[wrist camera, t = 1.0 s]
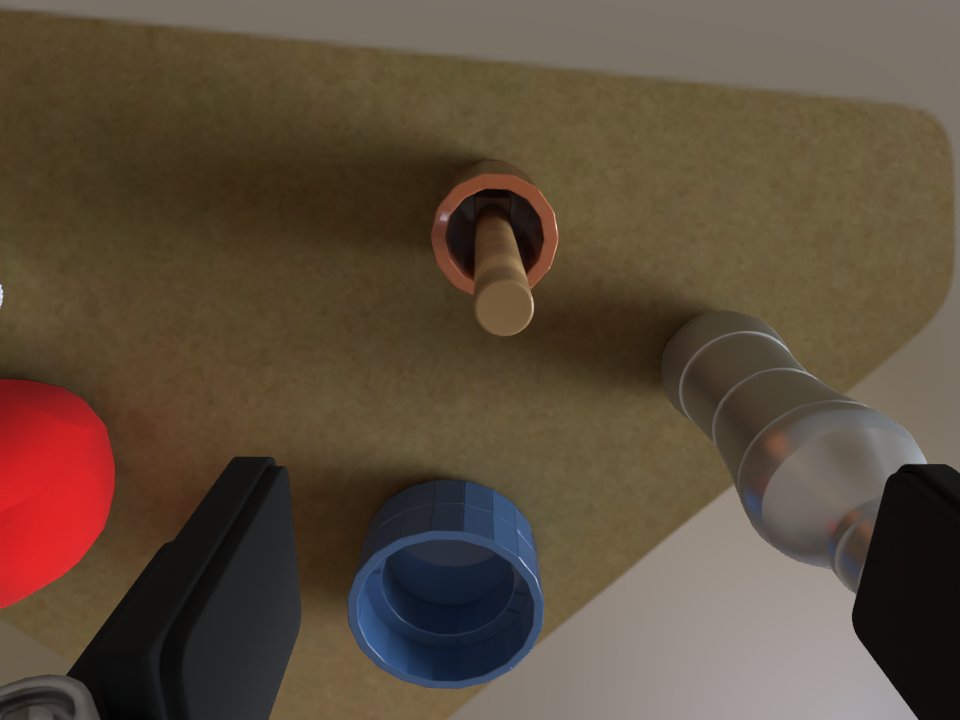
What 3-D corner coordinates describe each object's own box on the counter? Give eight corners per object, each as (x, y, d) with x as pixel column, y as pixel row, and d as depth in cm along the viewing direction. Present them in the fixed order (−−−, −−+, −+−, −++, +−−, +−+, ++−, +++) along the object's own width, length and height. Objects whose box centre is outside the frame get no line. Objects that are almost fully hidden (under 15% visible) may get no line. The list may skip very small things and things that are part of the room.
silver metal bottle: (776, 383, 39) (1050, 626, 20) (666, 419, 40) (832, 686, 21) (753, 284, 37) (1032, 453, 18) (637, 324, 38) (792, 527, 19)
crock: (442, 158, 35) (430, 171, 26) (542, 161, 35) (563, 175, 26) (441, 256, 37) (430, 297, 28) (537, 258, 37) (554, 301, 28)
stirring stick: (474, 189, 35) (470, 266, 17) (508, 190, 35) (540, 268, 17) (473, 231, 36) (469, 346, 18) (507, 232, 36) (536, 348, 18)
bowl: (361, 472, 41) (343, 528, 36) (539, 476, 41) (549, 533, 36) (367, 616, 45) (351, 687, 40) (530, 619, 45) (538, 690, 40)
